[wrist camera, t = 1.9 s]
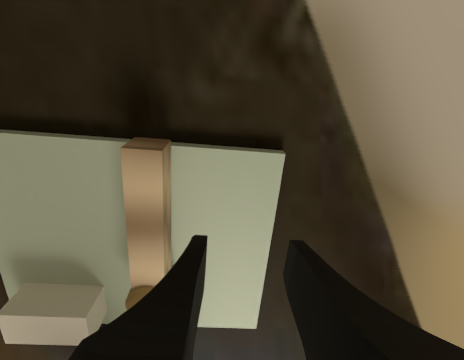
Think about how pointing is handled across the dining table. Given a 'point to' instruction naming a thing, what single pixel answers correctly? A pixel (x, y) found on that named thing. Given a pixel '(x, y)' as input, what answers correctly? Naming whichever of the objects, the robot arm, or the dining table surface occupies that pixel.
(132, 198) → the leg
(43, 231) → the board
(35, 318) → the block
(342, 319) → the robot arm
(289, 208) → the dining table surface
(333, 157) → the dining table surface
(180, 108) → the dining table surface
